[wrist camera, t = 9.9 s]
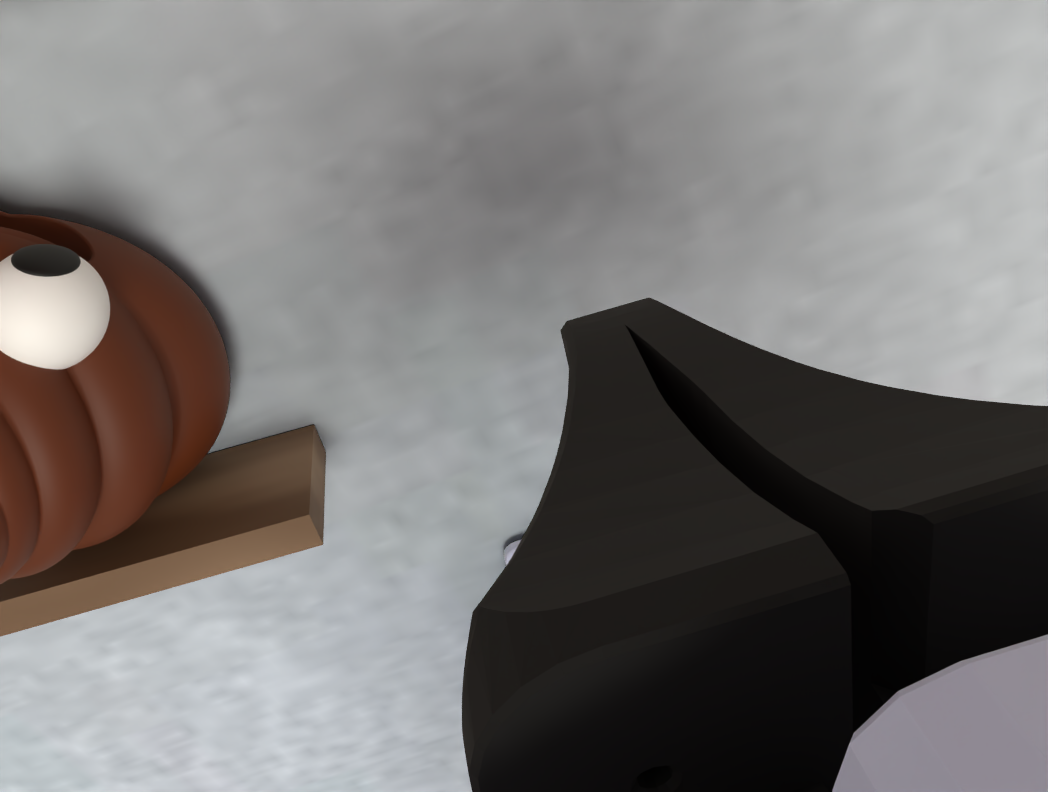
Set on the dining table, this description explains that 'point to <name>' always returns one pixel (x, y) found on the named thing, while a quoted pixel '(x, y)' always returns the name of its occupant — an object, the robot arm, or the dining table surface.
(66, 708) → the dining table surface
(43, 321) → the poop emoji
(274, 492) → the frame
